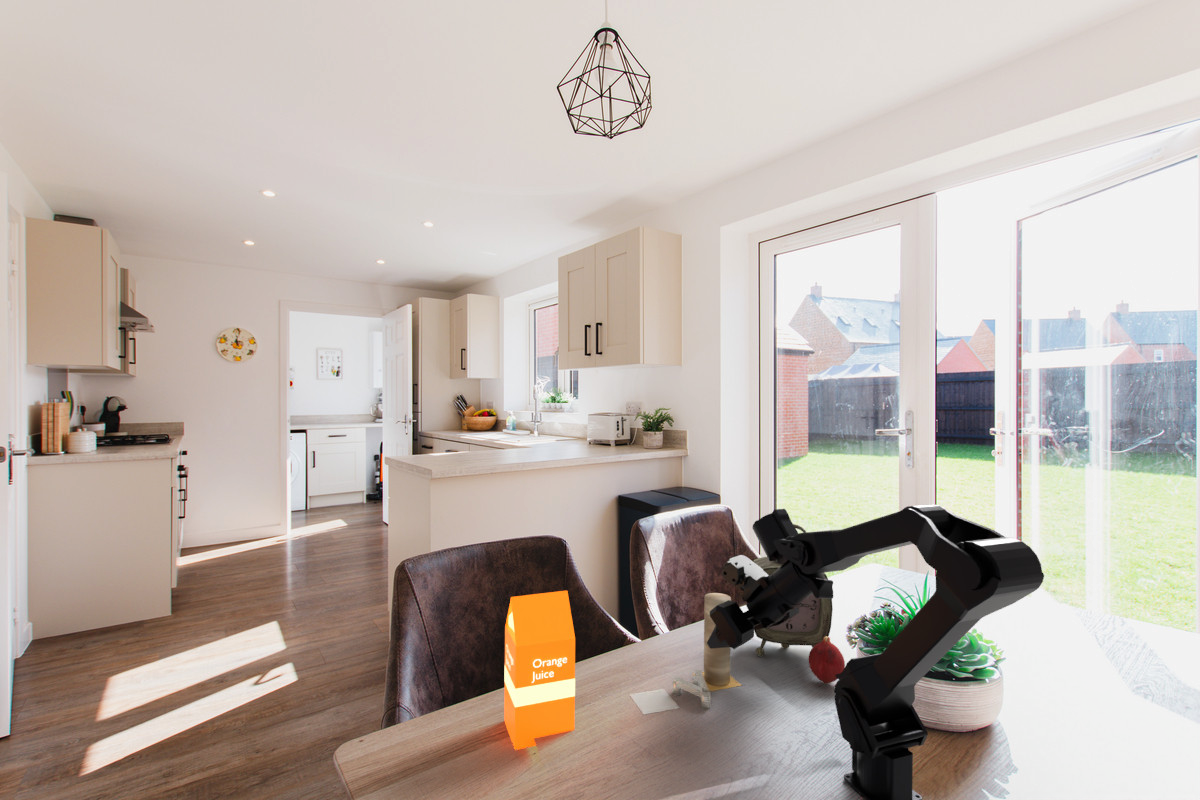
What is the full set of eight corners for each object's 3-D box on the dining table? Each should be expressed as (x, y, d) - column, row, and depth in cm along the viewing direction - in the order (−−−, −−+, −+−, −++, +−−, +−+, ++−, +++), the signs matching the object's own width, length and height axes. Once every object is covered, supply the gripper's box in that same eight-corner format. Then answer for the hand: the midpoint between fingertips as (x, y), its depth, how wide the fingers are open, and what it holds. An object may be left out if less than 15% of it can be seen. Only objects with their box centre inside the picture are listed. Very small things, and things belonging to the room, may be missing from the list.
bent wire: (723, 707, 88) (723, 690, 88) (689, 713, 86) (689, 697, 86) (700, 683, 95) (700, 669, 95) (668, 689, 93) (668, 674, 93)
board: (773, 717, 87) (773, 710, 87) (654, 741, 80) (654, 733, 80) (725, 674, 100) (725, 668, 100) (619, 692, 93) (619, 685, 93)
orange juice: (503, 720, 85) (504, 588, 85) (559, 709, 88) (560, 582, 88) (514, 751, 78) (515, 606, 78) (575, 738, 81) (576, 599, 81)
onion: (847, 694, 94) (848, 646, 94) (811, 690, 95) (811, 642, 95) (840, 677, 99) (840, 632, 99) (805, 673, 100) (806, 629, 100)
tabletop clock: (750, 660, 106) (751, 526, 105) (746, 639, 114) (747, 516, 114) (831, 667, 103) (833, 530, 103) (821, 645, 112) (822, 520, 112)
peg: (735, 683, 94) (736, 600, 94) (711, 687, 93) (712, 603, 93) (721, 671, 99) (722, 591, 99) (698, 675, 97) (699, 594, 97)
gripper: (782, 534, 97) (727, 583, 105) (720, 554, 84) (663, 608, 92) (827, 591, 92) (765, 638, 99) (768, 621, 79) (702, 673, 87)
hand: (725, 637), depth 95 cm, fingers open, 9 cm apart
